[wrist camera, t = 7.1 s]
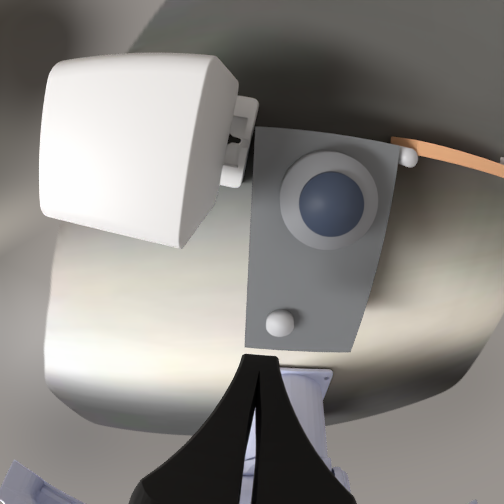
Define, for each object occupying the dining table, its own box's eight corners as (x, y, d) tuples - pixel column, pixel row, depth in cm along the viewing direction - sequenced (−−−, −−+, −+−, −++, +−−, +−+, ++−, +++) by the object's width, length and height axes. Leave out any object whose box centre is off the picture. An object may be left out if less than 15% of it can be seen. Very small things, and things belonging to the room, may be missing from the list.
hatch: (375, 156, 16) (400, 165, 12) (377, 124, 15) (403, 125, 11) (492, 181, 15) (524, 195, 11) (495, 155, 14) (528, 166, 11)
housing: (341, 312, 21) (357, 372, 15) (250, 306, 21) (241, 367, 16) (373, 140, 16) (419, 150, 10) (260, 126, 16) (252, 126, 10)
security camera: (155, 82, 15) (50, 59, 6) (261, 94, 15) (243, 53, 6) (141, 172, 18) (39, 222, 9) (240, 191, 18) (203, 263, 9)
